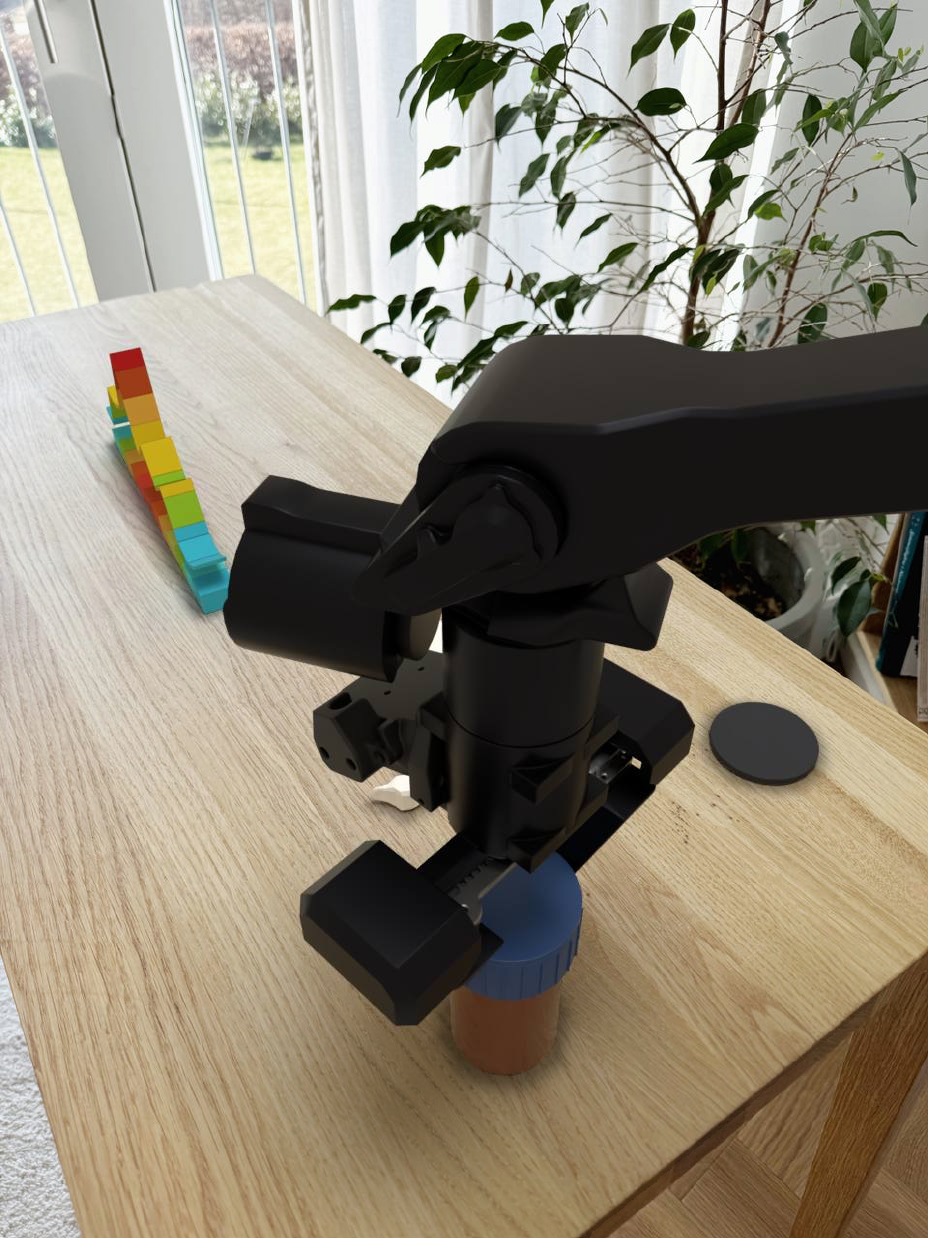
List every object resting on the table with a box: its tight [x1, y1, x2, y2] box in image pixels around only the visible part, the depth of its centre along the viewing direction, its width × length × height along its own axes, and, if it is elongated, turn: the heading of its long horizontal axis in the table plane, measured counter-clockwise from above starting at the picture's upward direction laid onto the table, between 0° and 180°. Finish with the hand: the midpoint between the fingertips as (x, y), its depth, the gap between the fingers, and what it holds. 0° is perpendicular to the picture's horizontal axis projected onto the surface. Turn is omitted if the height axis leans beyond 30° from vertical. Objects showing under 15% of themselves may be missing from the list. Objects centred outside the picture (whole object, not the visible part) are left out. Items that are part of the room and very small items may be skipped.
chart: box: [105, 347, 231, 615], centre depth 84 cm, size 30×3×15 cm, turn 28°
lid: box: [463, 851, 584, 1001], centre depth 45 cm, size 7×7×3 cm
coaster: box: [708, 701, 820, 786], centre depth 66 cm, size 7×7×1 cm
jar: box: [449, 978, 563, 1076], centre depth 48 cm, size 6×6×11 cm
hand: (507, 927), depth 46 cm, fingers closed on lid, 6 cm apart
